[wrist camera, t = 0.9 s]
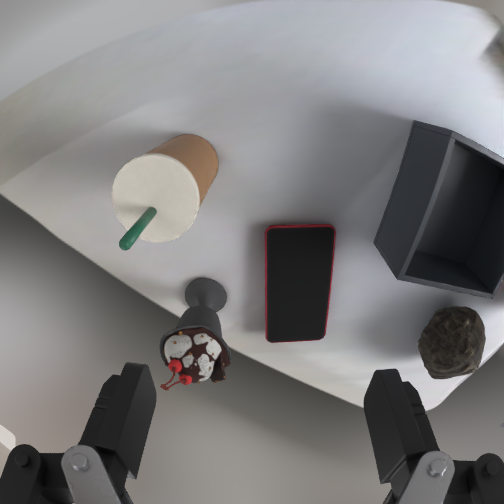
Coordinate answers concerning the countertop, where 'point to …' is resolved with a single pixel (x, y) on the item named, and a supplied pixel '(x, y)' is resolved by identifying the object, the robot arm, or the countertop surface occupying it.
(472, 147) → the bin
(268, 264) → the smartphone
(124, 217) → the takeaway cup
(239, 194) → the countertop surface
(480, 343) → the rock
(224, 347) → the sundae
